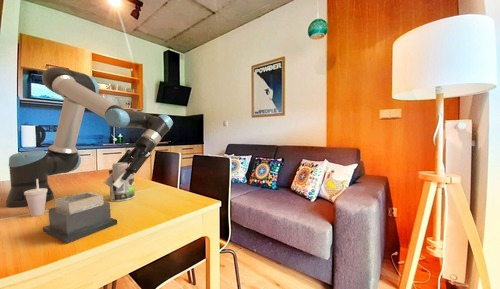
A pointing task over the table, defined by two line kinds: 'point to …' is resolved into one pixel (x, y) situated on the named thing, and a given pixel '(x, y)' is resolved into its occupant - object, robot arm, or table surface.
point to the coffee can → (126, 196)
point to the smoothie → (36, 200)
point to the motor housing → (78, 217)
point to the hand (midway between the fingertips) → (111, 185)
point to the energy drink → (117, 171)
